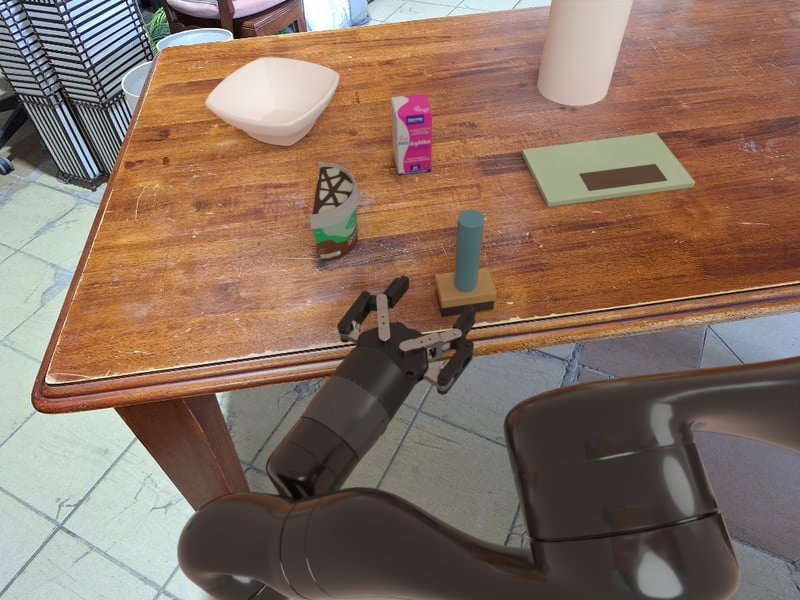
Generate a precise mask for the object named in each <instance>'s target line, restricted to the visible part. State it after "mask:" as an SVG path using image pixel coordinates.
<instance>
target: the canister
mask: <svg viewBox="0 0 800 600" xmlns="http://www.w3.org/2000/svg"><path fill="white" fill-rule="evenodd" d="M550 2H551V3H550V7H549V8H550V9H549V14H548V18H547V19H548V20H547V25H546V29H545V36H544V43H543V49H542V54H541V60H540V67H539V71H538V78H537V83H536V88H537V91H538V92H539V94H540V95H541V96H542V97H543V98H545V99H546V100H548V101H550V102H552V103H556V104H559V105H563V106H571V107H584V106H590V105H593V104H596V103H599V102H600V101H602V100H604V98H606V96H607V94H608V92H609V88H610V84H611V82H612V77H613V74H614V72H615V71H614V70H615V68H616V67H615V66H616V64H617V60H618V56H619V54H620V49H621V45H622V41H623V38H624V36H625V32H626V28H627V24H628V22H629V18H630V14H631V11H632V7H633V3H634V0H551V1H550Z"/></svg>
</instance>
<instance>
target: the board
mask: <svg viewBox="0 0 800 600" xmlns="http://www.w3.org/2000/svg"><path fill="white" fill-rule="evenodd" d="M521 156H522V158H523V160H524V162H525V164H526V166H527V168H528V170H529V173H530V175H531V176H532V179H533V181H534V183H535V185H536V187H537V189H538V190H539V193H540V194H541V197H542V199H543V200H544V203H545V205H546V207H547V208H549V207H550V208H551V207H558V206H565V205H573V204H581V203H588V202H595V201H602V200H609V199H617V198H623V197H632V196H638V195H647V194H655V193H662V192H670V191H677V190H685V189H692V188H694V187H695V185H696V181H695V180H694V178H693V177H692V176H691V175H690V173H689V172H688V171H687V170H686V169H685V167H684V166H683V165H682V164H681V162H680V161H679V160H678V158H677V157H676V156H675V154H673V152H672V151H671V150H670V149H669V147H668V145H666V143H665V142H664V141H663V140H662V138H661V137H660V136H659V135H658V133H657V132H649V133H641V134H632V135H625V136H618V137H609V138H601V139H594V140H586V141H585V140H584V141H579V142H570V143H563V144H555V145H554V144H553V145H547V146H539V147H538V146H537V147H530V148H524V149H521Z"/></svg>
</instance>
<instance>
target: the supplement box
mask: <svg viewBox="0 0 800 600" xmlns="http://www.w3.org/2000/svg"><path fill="white" fill-rule="evenodd" d="M390 108H391V109H390V110H391V132H392V133H391V134H392V152H393V160H394V164H395V167H396V172H397V175H398V176H404V175H409V174H411V175H412V174H418V173H429V172H431V171H432V146H433V144H432V143H433V142H432V141H433V140H432V139H433V111H432V108H431V106H430V103H429V100H428V97H427V94H426V93H418V94H408V95H400V96H391V97H390Z"/></svg>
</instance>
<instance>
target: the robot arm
mask: <svg viewBox="0 0 800 600" xmlns="http://www.w3.org/2000/svg"><path fill="white" fill-rule="evenodd" d="M409 288H410V277H409V276H406V275H405V274H402V275H401V276H400V277H398V276H397V277H396V278H394V279H393V280H392V281H391V282H390V283H389V284H388V286H387V287H386V288H385V290H384V291H383V292H382V293H379V294H377V295H375V294H371V292H370V291H367V290H366V291H365V290H364V291H362V292H361V293H360V294H359V295H358V297H357V298H356V300H354V302H353V303H352V304H351V306H350V307H349V309H348V310H347V311H346V313H345V314H344V315H343V316H342V317H341V319H340V320H339V321H338V323H337V325H336V329H337V333H338V337H339V340H340V342H341V343H344V344H347V343H349V342H351V343H353V344H355V347H352V349H350V351H349V352H348V353H347V355H346V356H345V357H344V358H343V359H342V361H341V362H340V364H339V365H338V366H337V367H336V368H335V369H334V371H333V372H332V373H331V375H330V376H329V377H328V378H327V379H326V381H324V383H323V385H322V386H321V387H320V388H319V389H318V391H317V392H316V393H315V395H314V396H313V397H312V398H311V400H310V402H309V403H308V404H307V406H306V408H305V410H304V412H303V413H302V415H301V416H300V417H299V418H298V419H297V420H296V422H295V423H294V424H293V426H292V427H291V428H290V429H289V431H288V432H287V433H286V434H285V435H284V437H283V438H282V439H281V440H280V442H279V443H278V444H277V446H276V447H275V448H274V450H273V451H272V452H271V453H270V455H269V457H268V458H267V460H266V462H265V472H266V475H267V477H268V478H269V480H270V482H271V484H272V485H273V487H274V488H275V490H276V492H277V494H275V493H269V492H268V493H267V492H259V491H234V492H230V493H225V494H222V495H220V496H217V497H215V498H213V499H211V500H209V501H207V502H206V503H205V504H203V505H202V506H201V507H199V508H198V509H197V510H196V511H195V512H194V513H193V514H192V515H190V517H189V518H188V520H187V521H186V522H185V524H184V526H183V528H182V530H181V532H180V534H179V538H178V541H177V546H176V547H177V548H176V557H177V558H176V559H177V563H178V566H179V568H180V570H181V571H182V573H183V574H184V576H185V577H186V579H188V580H189V581H190V582H192V583H193V584H194V585H196V586H197V587H198V588H200V589H201V590H202V591H204V592H205V593H206V594H208V595H209V596H210V597H211V598H213V599H214V600H291V599H293V600H344V599H345V600H347V599H358V598H386V599H396V600H729V599H730V598H731V597H732V596H733V594H735V593H736V592H737V590H738V588H739V586H740V584H741V579H742V573H741V568H740V563H739V560H738V556H737V554H736V549H735V546H734V543H733V541H732V538H731V535H730V532H729V529H728V527H727V523H726V520H725V518H724V516H723V514H722V513H723V512H722V510H721V509H720V508H719V506H720V505H719V501H718V498H717V496H716V493H715V491H714V487H713V484H712V483H711V479H710V477H709V474H708V471H707V469H706V466H705V465H706V464H705V462H704V461H703V458H702V454H701V452H700V449H699V446H698V444H697V442H696V437H695V435H694V433H709V434H716V435H717V434H718V435H726V436H732V437H736V438H743V439H747V440H750V441H751V440H752V441H756V442H758V443H763V444H766V445H770V446H773V447H777V448H780V449H782V450H786V451H787V452H791V453H794V454H797V455H799V456H800V355H795V356H789V357H783V358H778V359H777V358H776V359H771V360H764V361H756V362H747V363H739V364H729V365H721V366H711V367H703V368H694V369H685V370H674V371H666V372H657V373H649V374H648V373H647V374H639V375H630V376H629V375H628V376H622V377H615V378H607V379H606V378H605V379H600V380H592V381H586V382H585V381H584V382H580V383H575V384H569V385H566V386H561V387H557V388H553V389H549V390H546V391H543V392H540V393H538V394H535V395H533V396H530V397H528V398H526V399H523V400H522V401H519V402H518V403H517V404H516V405H514V406H513V407H512V408H511V409H510V410H508V412H507V414H506V415H505V417H504V420H503V437H504V441H505V448H506V452H507V456H508V460H509V465H510V469H511V472H512V475H513V482H514V486H515V491H516V495H517V499H518V503H519V507H520V511H521V515H522V519H523V525H524V528H525V533H526V536H527V537H528V545H529V547H522V546H521V547H520V546H511V545H505V544H504V545H503V544H498V543H495V542H492V541H488V540H484V539H481V538H479V537H476V536H474V535H473V534H470V533H467V532H466V531H464V530H460V529H459V528H457V527H455V526H453V525H451V524H450V523H447V522H446V521H444V520H442V519H440V518H439V517H437V516H435V515H434V514H432V513H430V512H429V511H427V510H425V509H424V508H422V507H420V506H419V505H417V504H415V503H413V502H412V501H410V500H408V499H406V498H404V497H402V496H400V495H398V494H396V493H393V492H390V491H387V490H384V489H380V488H376V487H367V486H366V487H365V486H355V487H354V486H353V487H346V488H342V487H343V486H344V484H345V483H346V481H347V480H348V479H349V477H350V476H351V474H352V473H353V472H354V470H355V469H356V467H357V466H358V464H359V463H360V462H361V460H362V459H363V458H364V457H365V456H366V455H367V454H368V453H369V451H370V450H371V449H372V448H373V447H374V446H375V444H376V443H377V442H378V440H380V437H382V436H383V435H384V434H385V432H386V430H387V429H388V426H389V425H390V423H391V421H393V419H394V417H395V416H396V414H397V413H398V411H399V410H400V408H401V407H402V406H403V404H404V403H405V401H406V400H407V398H408V397H409V396H410V395H411V393H412V391H413V389H414V388H415V386H416V385H417V384H418V383H420V382H422V381H424V380H425V381H426V382H428V383H430V385H432V386H435V387H436V392H437V394H439V395H442V396H445V395H446V394H448V393H449V392H450V391H451V389H452V388H453V386H454V385H455V383H456V382H457V381H458V379H460V376H461V375H462V374H463V373H464V372H465V370H466V369H467V367H468V366H469V365H470V363H471V362H472V360H473V358H474V349H475V343H474V341H473V340H471V339H467V336H468V335H469V333H470V332H471V330H472V328H473V327H474V326H475V322H476V314H477V312H474V307H473V306H471V305H469V304H468V305H467V306H466V307H465V309H464V310H463V312H462V313H461V314H459V316H458V318H457V319H456V320H455V322H454V323H453V325H452V329H449V330H446V331H443V332H438V331H434V332H431V333H430V334H425V335H423V332H421V331H419V330H417V329H414V328H410V327H408V326H407V325H405V324H404V323H403V322H400V321H399V320H397V321H396V322H390V313H389V309H392V310H393V309H394V308H395V307H396V306H397V304H398V303H399V302H400V300H401V299H402V298H403V296H404V295H405V294H406V293H407V292H408V290H409ZM371 312H376V314H377V315H376V317H377V326H376V327H372V328H370V329H368V330H364V331H362V332H361V326H362V325H363V323H364V322H365V320H366V319H367V318H368V317H369V316H370V314H371ZM453 352H454V353H453ZM451 353H453V355H452V356H451V357H450V358H449V360H448V361H447V362H446V363H445V365H444V364H440V365H438V366H436V367H435V368H430V364H429V363H431V362H434V361H437V360H439V359H441V358H443V356H444V355H447V354H451Z"/></svg>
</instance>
